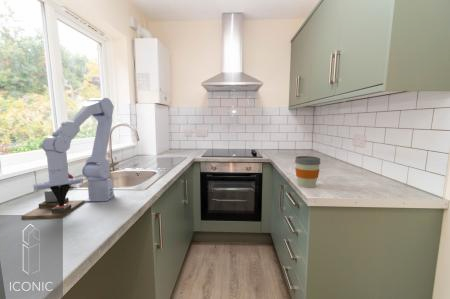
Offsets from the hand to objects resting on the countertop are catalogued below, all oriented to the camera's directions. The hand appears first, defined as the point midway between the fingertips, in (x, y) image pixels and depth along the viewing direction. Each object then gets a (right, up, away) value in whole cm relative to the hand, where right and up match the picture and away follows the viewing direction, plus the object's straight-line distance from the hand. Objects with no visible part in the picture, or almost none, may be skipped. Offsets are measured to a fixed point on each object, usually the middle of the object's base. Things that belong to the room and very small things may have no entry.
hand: (61, 205), depth 84 cm
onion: (-21, +1, +34) cm, 40 cm away
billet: (-8, -1, +7) cm, 10 cm away
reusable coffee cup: (+104, +1, +38) cm, 111 cm away
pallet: (-5, -3, +4) cm, 6 cm away
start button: (0, -2, 0) cm, 2 cm away
